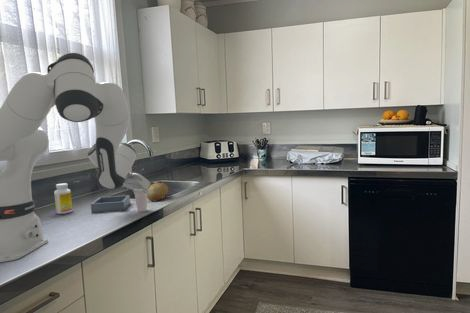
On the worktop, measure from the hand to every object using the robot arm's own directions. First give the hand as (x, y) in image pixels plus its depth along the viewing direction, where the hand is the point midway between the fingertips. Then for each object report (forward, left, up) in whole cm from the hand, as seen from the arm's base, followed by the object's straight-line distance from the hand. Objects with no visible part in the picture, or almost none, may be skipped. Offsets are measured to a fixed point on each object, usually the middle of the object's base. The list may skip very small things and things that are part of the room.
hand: (141, 191), depth 152 cm
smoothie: (0, 0, -9) cm, 9 cm away
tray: (+9, +15, -8) cm, 19 cm away
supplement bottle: (+7, +35, -9) cm, 37 cm away
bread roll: (+23, -4, -9) cm, 25 cm away
